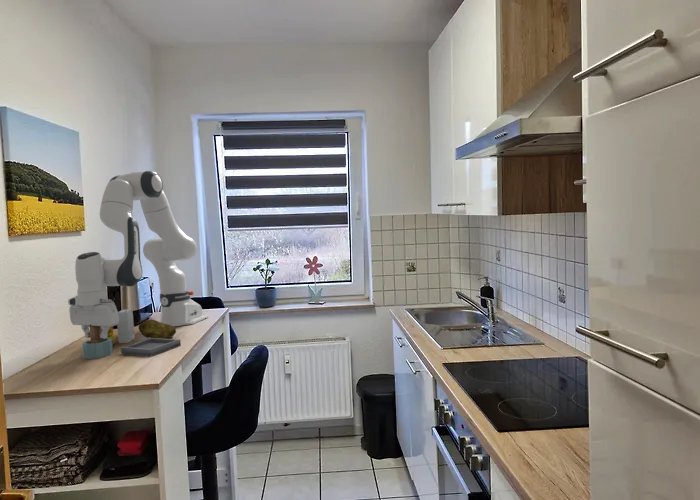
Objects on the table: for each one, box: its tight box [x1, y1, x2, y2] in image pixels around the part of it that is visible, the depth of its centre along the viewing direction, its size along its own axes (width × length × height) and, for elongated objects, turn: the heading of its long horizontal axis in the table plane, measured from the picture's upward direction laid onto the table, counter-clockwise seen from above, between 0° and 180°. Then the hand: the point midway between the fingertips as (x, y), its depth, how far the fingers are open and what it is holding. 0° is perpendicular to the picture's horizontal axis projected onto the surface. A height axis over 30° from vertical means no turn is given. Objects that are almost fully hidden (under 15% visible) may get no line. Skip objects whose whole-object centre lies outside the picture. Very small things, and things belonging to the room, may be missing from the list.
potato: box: [138, 319, 177, 339], centre depth 193 cm, size 8×13×8 cm, turn 95°
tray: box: [120, 338, 182, 357], centre depth 177 cm, size 14×14×2 cm
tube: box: [81, 338, 114, 360], centre depth 174 cm, size 9×9×5 cm
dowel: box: [89, 324, 103, 344], centre depth 173 cm, size 4×4×12 cm
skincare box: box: [116, 308, 135, 344], centre depth 192 cm, size 6×4×12 cm
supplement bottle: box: [101, 326, 115, 346], centre depth 187 cm, size 6×6×10 cm
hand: (96, 337), depth 173 cm, fingers open, 6 cm apart
